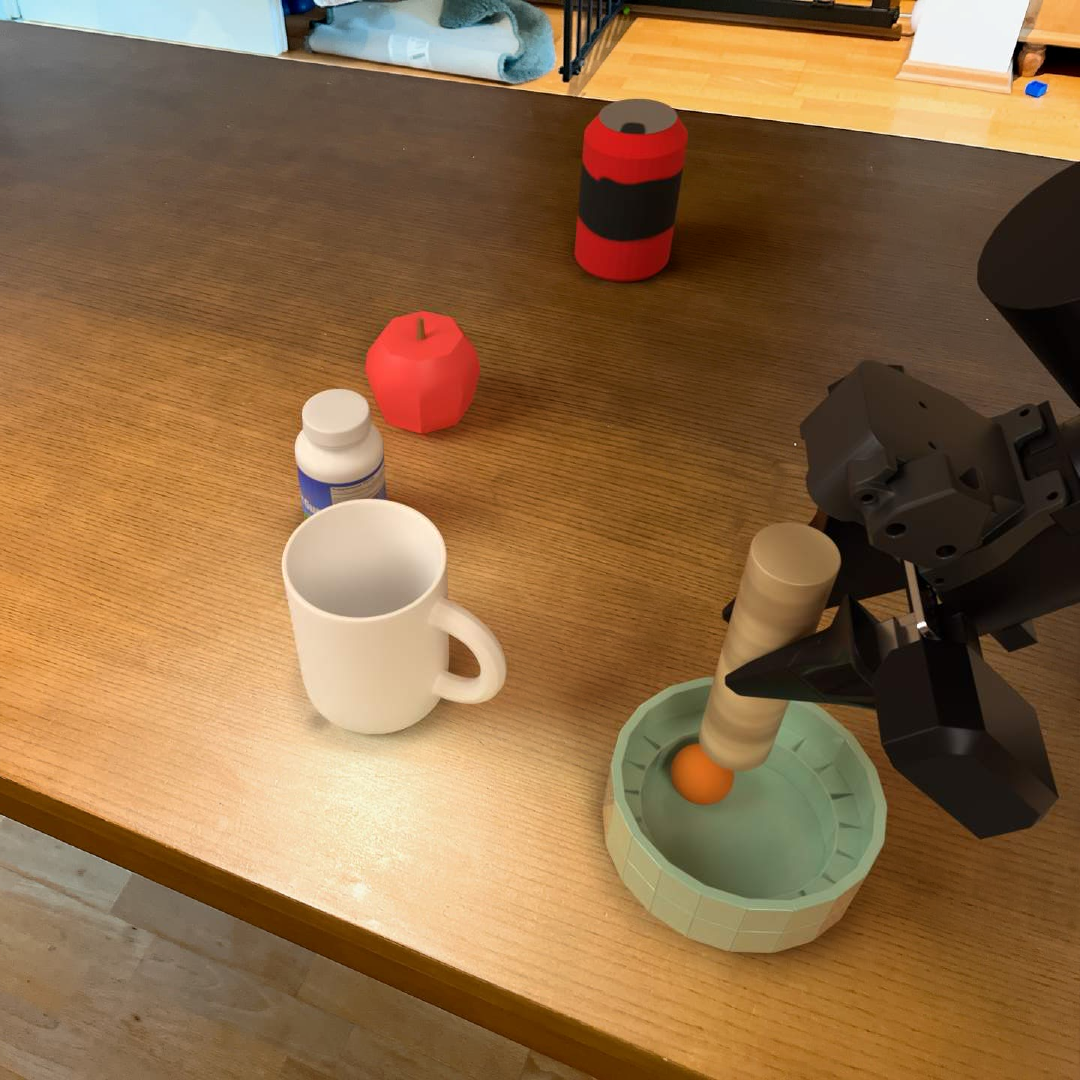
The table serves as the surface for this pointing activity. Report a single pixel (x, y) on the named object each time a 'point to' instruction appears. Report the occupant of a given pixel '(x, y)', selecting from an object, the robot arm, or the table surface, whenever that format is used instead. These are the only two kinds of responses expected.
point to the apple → (422, 372)
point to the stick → (766, 636)
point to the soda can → (629, 189)
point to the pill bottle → (338, 452)
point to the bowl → (744, 827)
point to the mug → (380, 618)
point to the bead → (700, 776)
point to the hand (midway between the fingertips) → (729, 652)
